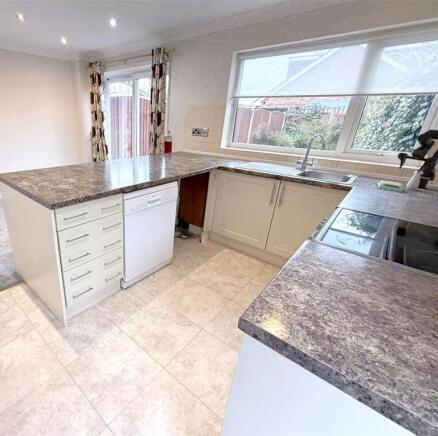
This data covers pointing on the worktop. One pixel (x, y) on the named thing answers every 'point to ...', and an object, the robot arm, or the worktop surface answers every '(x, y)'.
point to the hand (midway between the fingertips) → (408, 170)
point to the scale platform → (391, 183)
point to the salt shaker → (414, 181)
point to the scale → (390, 187)
